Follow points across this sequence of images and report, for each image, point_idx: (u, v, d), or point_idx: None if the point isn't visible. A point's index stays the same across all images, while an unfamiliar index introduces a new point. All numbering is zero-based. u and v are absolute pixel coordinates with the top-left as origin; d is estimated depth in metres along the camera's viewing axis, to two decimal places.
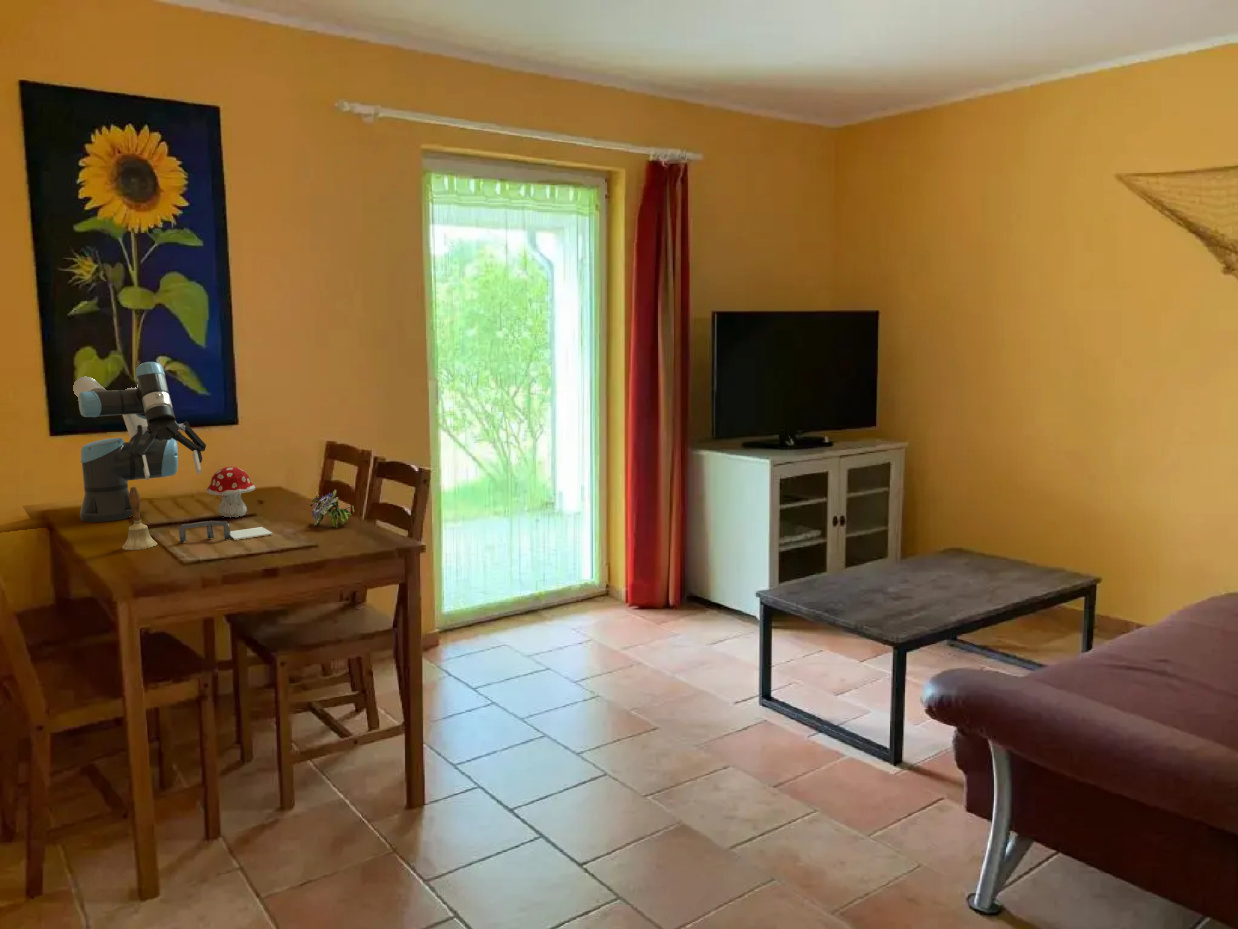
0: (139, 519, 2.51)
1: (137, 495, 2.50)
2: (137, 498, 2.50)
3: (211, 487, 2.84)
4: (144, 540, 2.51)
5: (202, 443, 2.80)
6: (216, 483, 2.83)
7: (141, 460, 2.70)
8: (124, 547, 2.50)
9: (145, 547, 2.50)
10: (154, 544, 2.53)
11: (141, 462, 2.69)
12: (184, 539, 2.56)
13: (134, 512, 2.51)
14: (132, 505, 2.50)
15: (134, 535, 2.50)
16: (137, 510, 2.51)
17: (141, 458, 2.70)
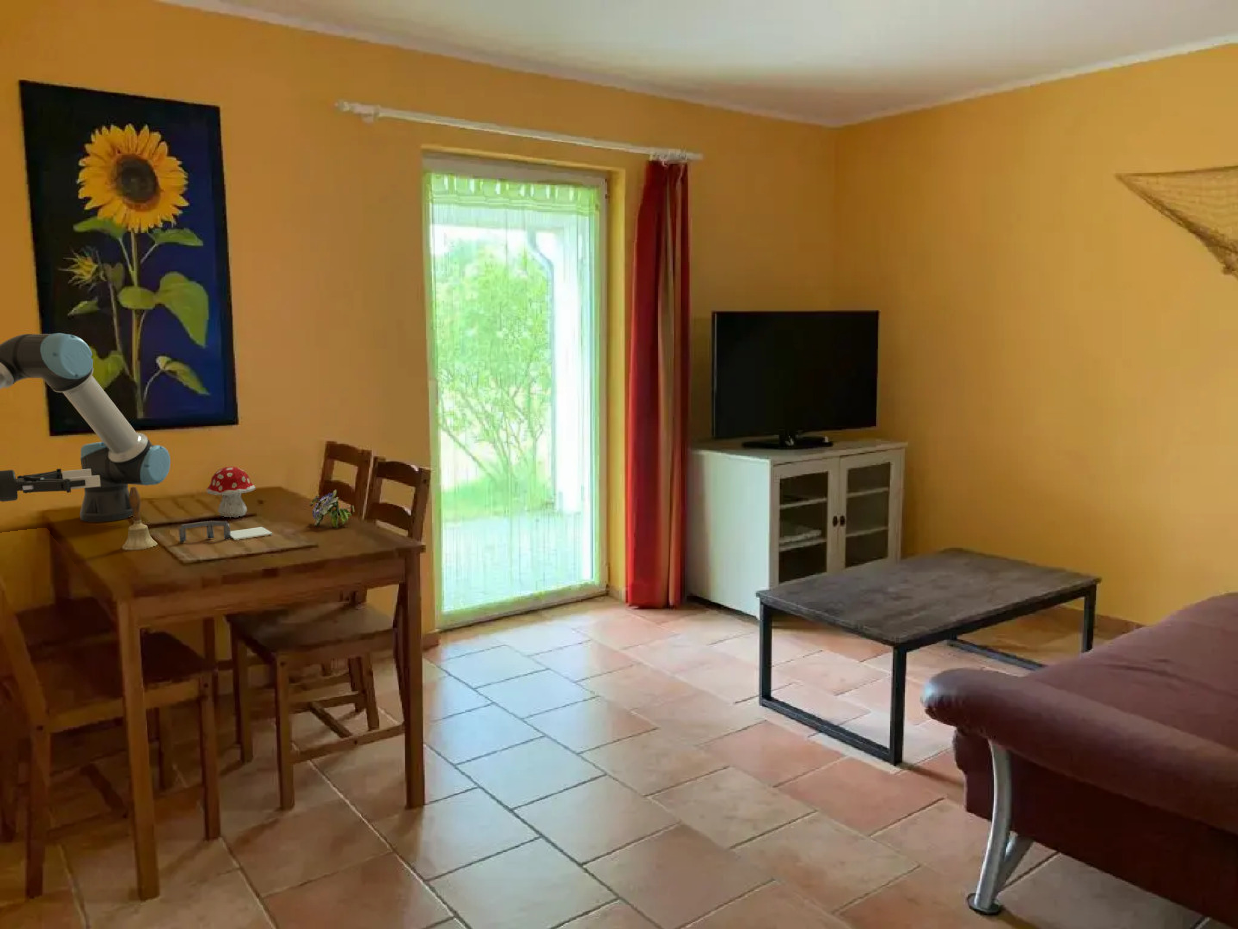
0: (139, 519, 2.51)
1: (137, 495, 2.50)
2: (137, 498, 2.50)
3: (211, 487, 2.84)
4: (144, 540, 2.51)
5: (62, 490, 2.33)
6: (216, 483, 2.83)
7: (68, 478, 2.48)
8: (124, 547, 2.50)
9: (145, 547, 2.50)
10: (154, 544, 2.53)
11: (71, 478, 2.48)
12: (184, 539, 2.56)
13: (134, 512, 2.51)
14: (132, 505, 2.50)
15: (134, 535, 2.50)
16: (137, 510, 2.51)
17: None
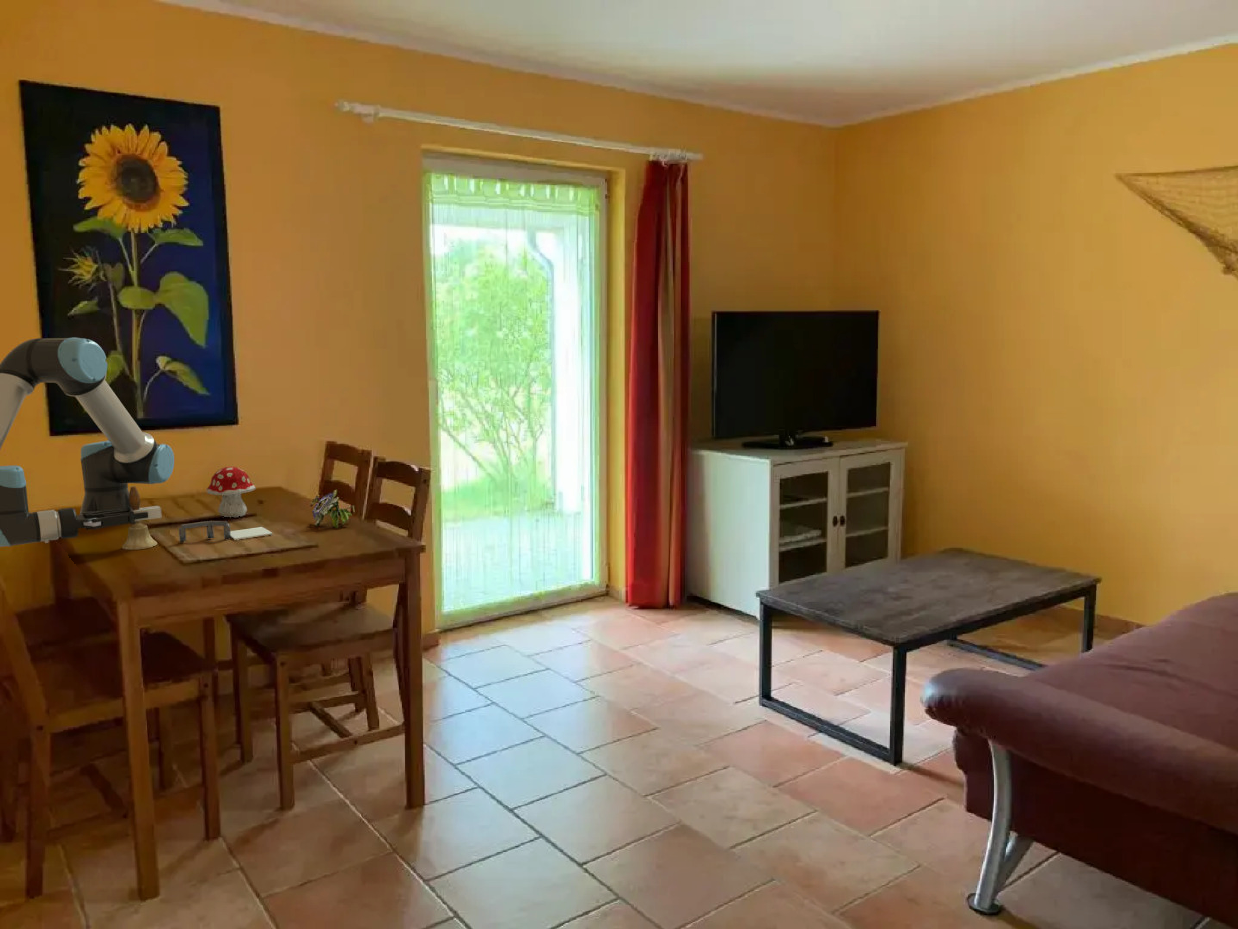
0: None
1: (137, 495, 2.50)
2: (137, 498, 2.50)
3: (211, 487, 2.84)
4: (143, 539, 2.51)
5: None
6: (216, 483, 2.83)
7: None
8: (124, 547, 2.50)
9: (145, 547, 2.50)
10: (154, 544, 2.53)
11: None
12: (184, 539, 2.56)
13: None
14: (132, 505, 2.50)
15: (134, 535, 2.50)
16: (137, 509, 2.51)
17: None
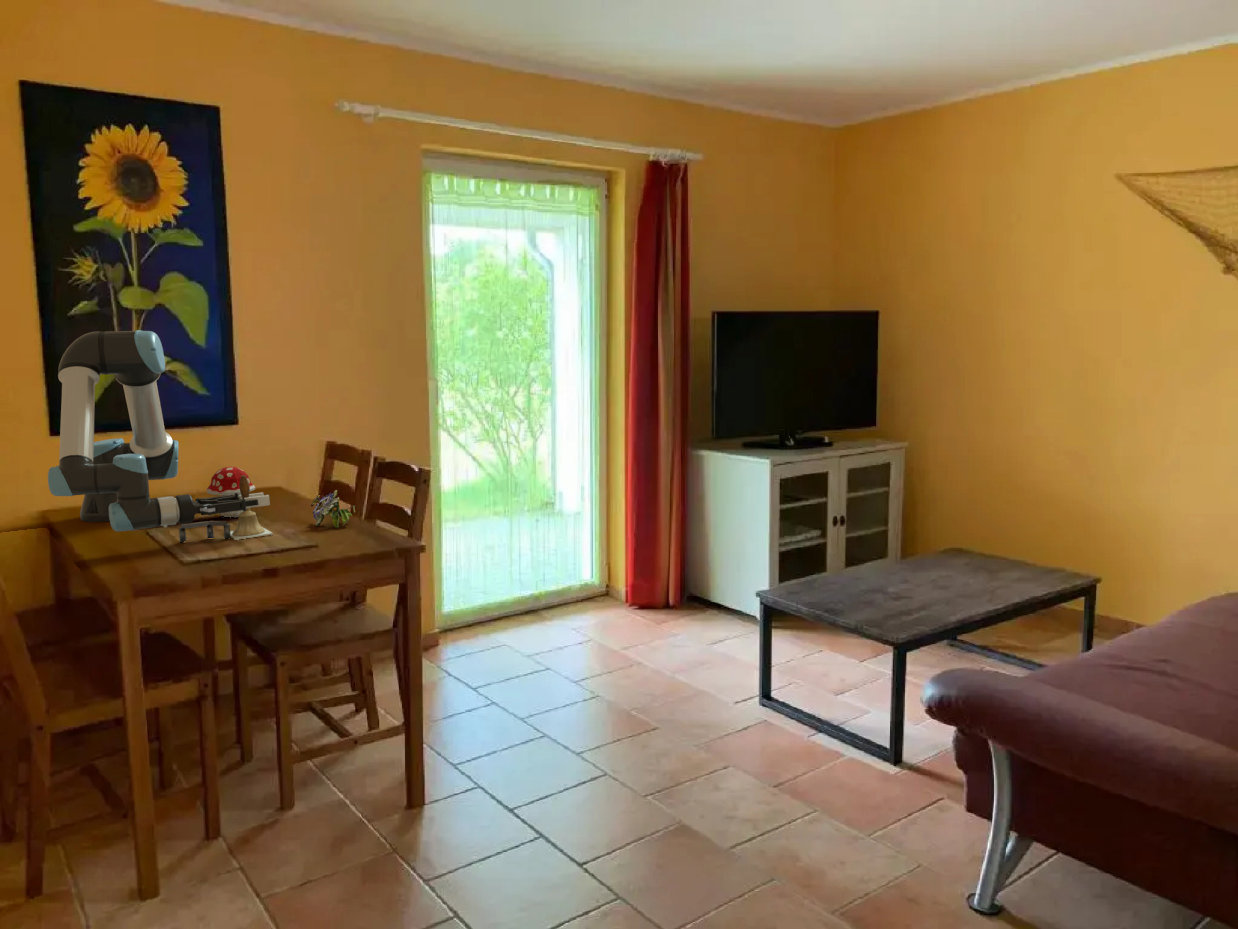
0: None
1: (247, 483, 2.62)
2: (247, 486, 2.61)
3: (211, 487, 2.84)
4: (253, 526, 2.62)
5: None
6: (215, 483, 2.83)
7: None
8: (235, 533, 2.61)
9: (255, 533, 2.61)
10: (262, 530, 2.64)
11: None
12: (184, 539, 2.56)
13: None
14: (242, 493, 2.61)
15: (244, 521, 2.61)
16: (247, 497, 2.62)
17: None
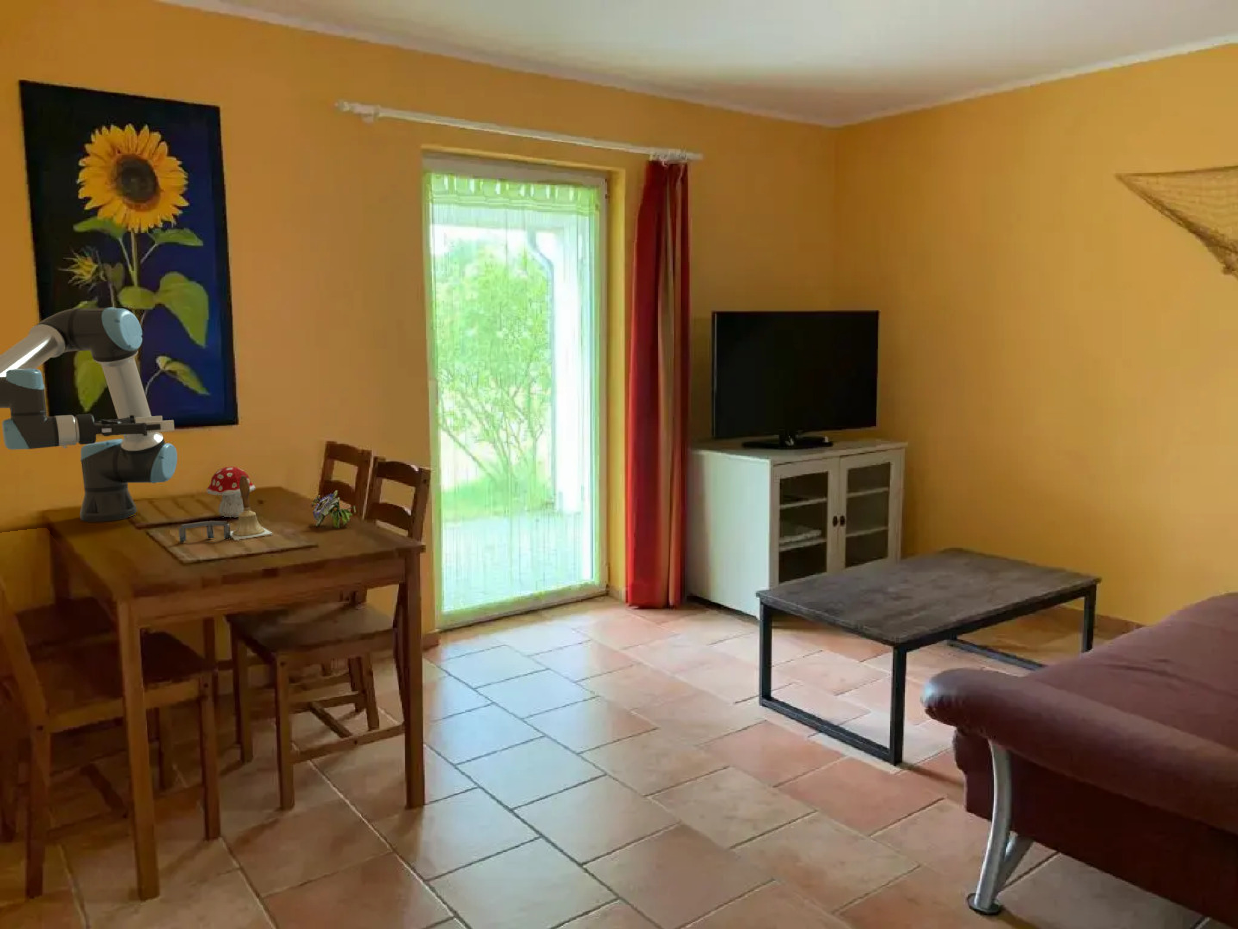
0: (248, 506, 2.63)
1: (247, 483, 2.62)
2: (247, 486, 2.61)
3: (211, 487, 2.84)
4: (253, 526, 2.62)
5: (139, 433, 2.40)
6: (215, 483, 2.83)
7: None
8: (235, 533, 2.61)
9: (255, 533, 2.61)
10: (262, 530, 2.64)
11: None
12: (184, 539, 2.56)
13: (244, 499, 2.62)
14: (242, 493, 2.61)
15: (244, 521, 2.61)
16: (247, 497, 2.62)
17: None
